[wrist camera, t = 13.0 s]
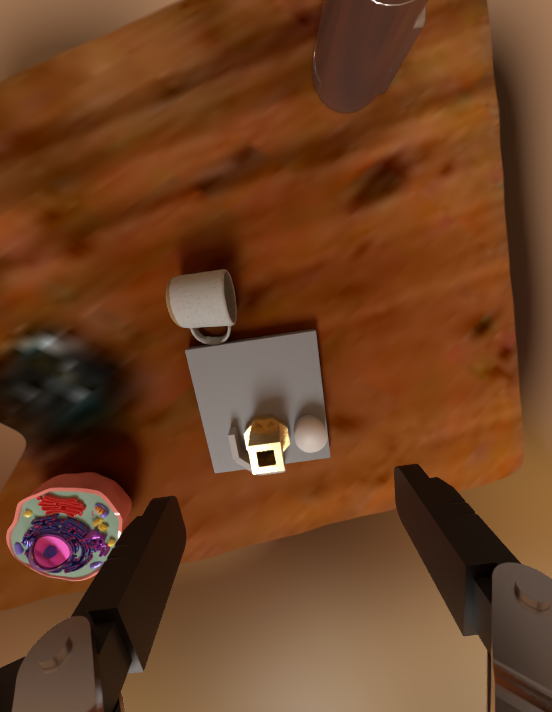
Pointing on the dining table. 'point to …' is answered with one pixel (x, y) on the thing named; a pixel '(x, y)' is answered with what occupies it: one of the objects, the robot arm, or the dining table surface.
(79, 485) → the cell model
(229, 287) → the ceramic mug
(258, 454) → the gold hollow block
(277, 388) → the carrier
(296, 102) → the dining table surface
